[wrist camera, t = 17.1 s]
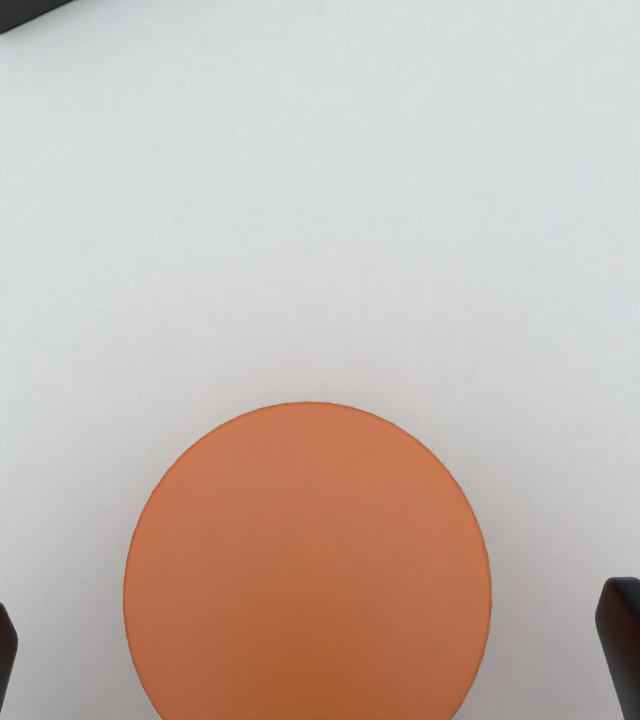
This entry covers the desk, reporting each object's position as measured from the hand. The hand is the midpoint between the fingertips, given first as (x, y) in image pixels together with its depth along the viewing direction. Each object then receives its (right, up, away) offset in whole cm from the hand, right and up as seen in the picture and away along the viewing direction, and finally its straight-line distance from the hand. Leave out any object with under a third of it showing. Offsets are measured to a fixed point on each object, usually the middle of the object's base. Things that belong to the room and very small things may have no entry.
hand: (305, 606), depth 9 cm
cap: (0, -1, +6) cm, 6 cm away
